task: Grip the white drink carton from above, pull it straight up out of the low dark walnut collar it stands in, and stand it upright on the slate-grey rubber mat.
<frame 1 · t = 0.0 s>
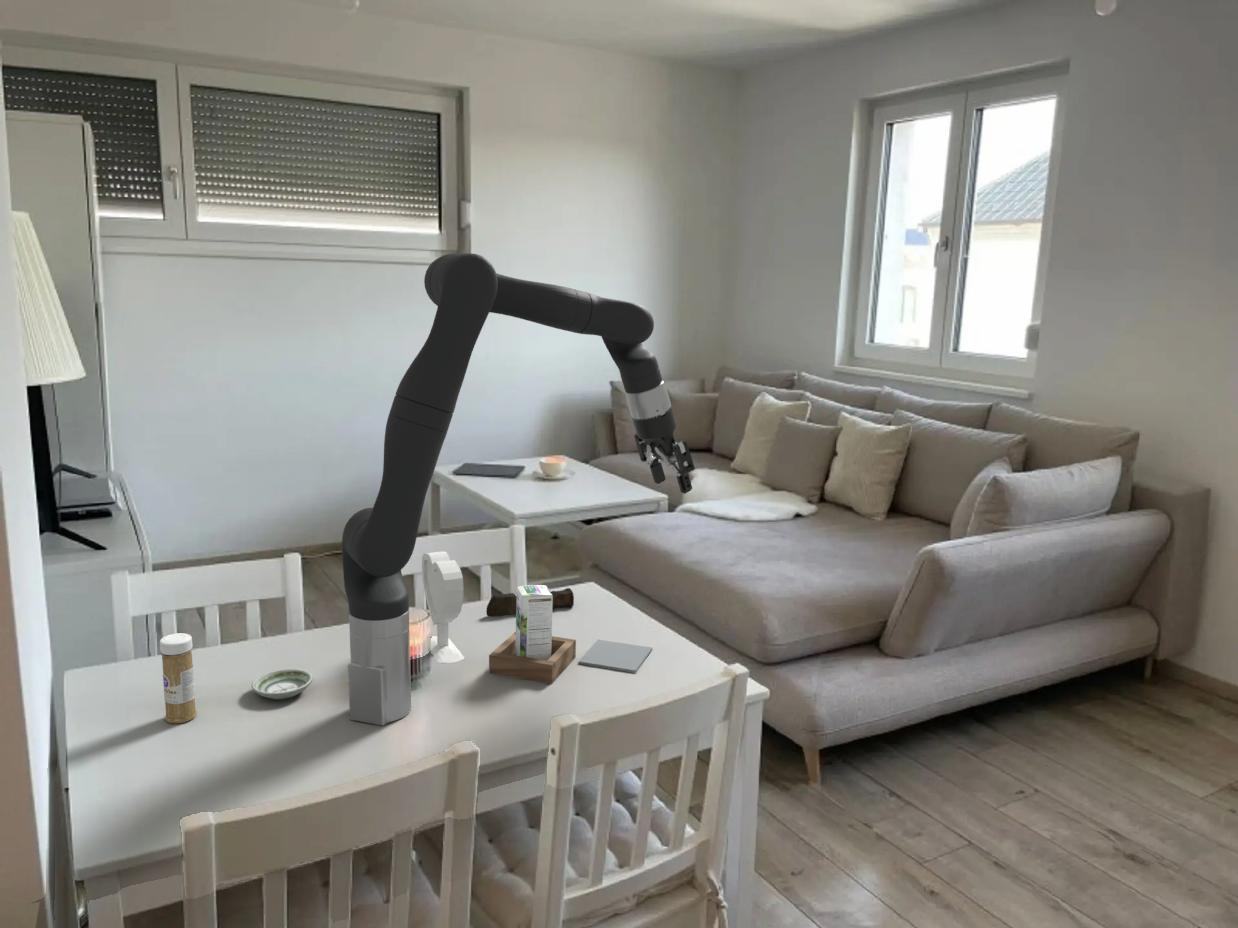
hand: (673, 486, 173), 31 cm above the table, tool tilted 20°, fingers open, 8 cm apart
white drink carton: (533, 666, 168), resting in collar
hand tool: (531, 613, 195), on the table
saucer: (283, 694, 155), on the table
sprinkles bottle: (181, 718, 145), on the table
mat: (616, 656, 173), on the table
heart sculpture: (442, 649, 174), on the table
collar: (533, 665, 168), on the table
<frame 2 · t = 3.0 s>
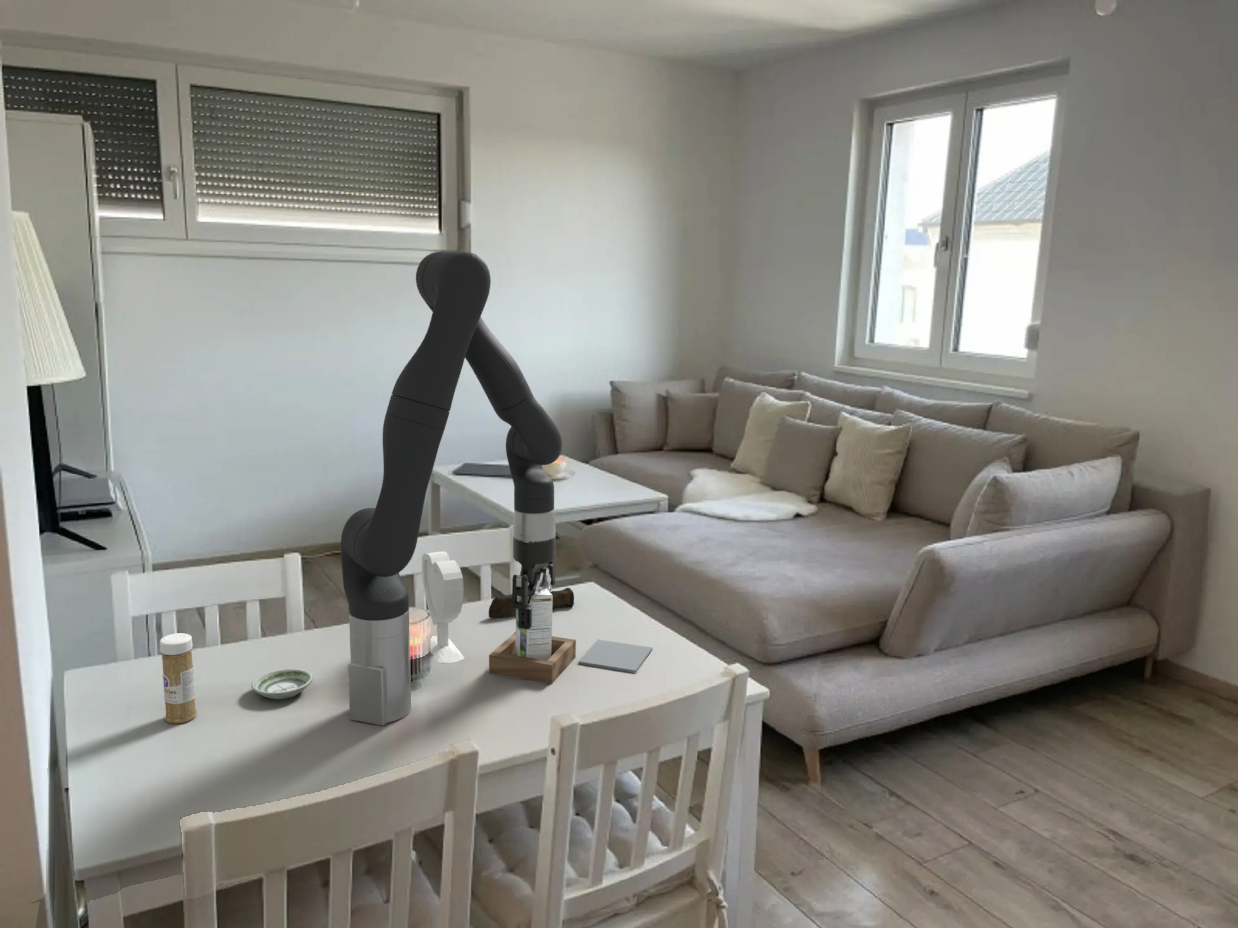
hand: (534, 619, 166), 9 cm above the table, tool pointing down, fingers open, 8 cm apart
white drink carton: (533, 666, 168), resting in collar, touching gripper
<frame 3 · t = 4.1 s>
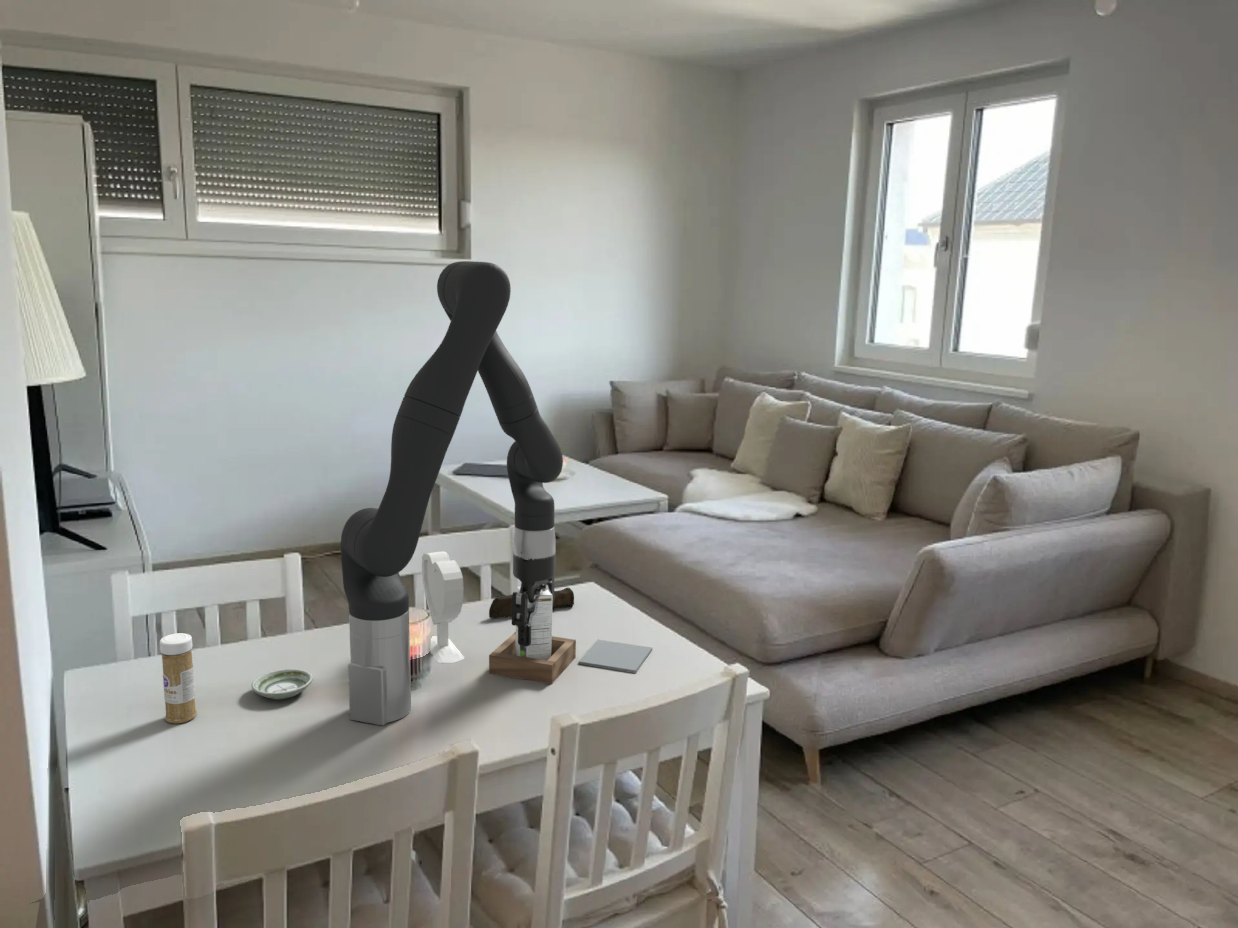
hand: (533, 636, 167), 6 cm above the table, tool pointing down, fingers closed on white drink carton, 8 cm apart
white drink carton: (533, 666, 168), resting in collar, touching gripper
everything else where it was.
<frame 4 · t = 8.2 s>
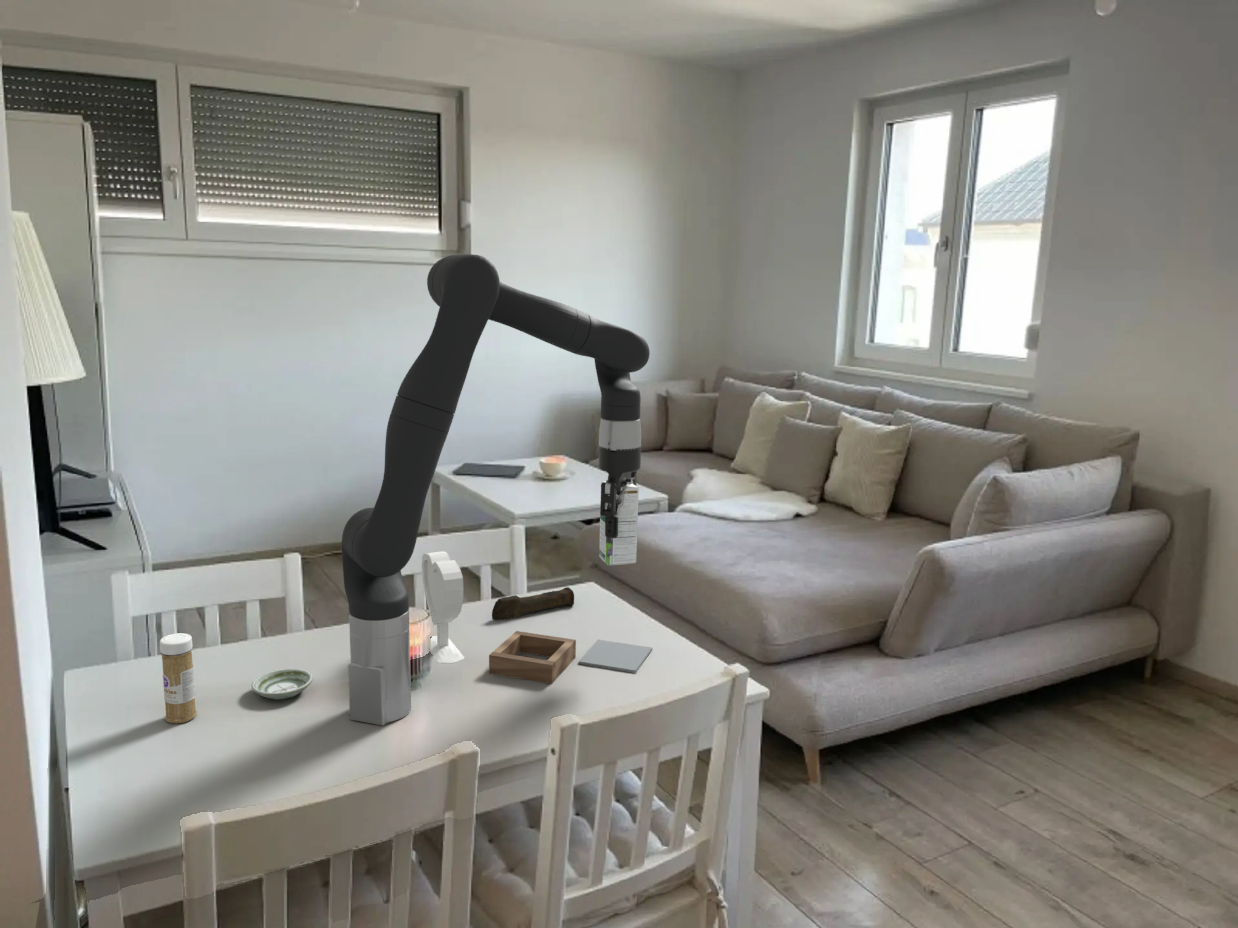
hand: (618, 530, 168), 24 cm above the table, tool pointing down, fingers closed on white drink carton, 8 cm apart
white drink carton: (617, 561, 169), point 19 cm above the table, touching gripper
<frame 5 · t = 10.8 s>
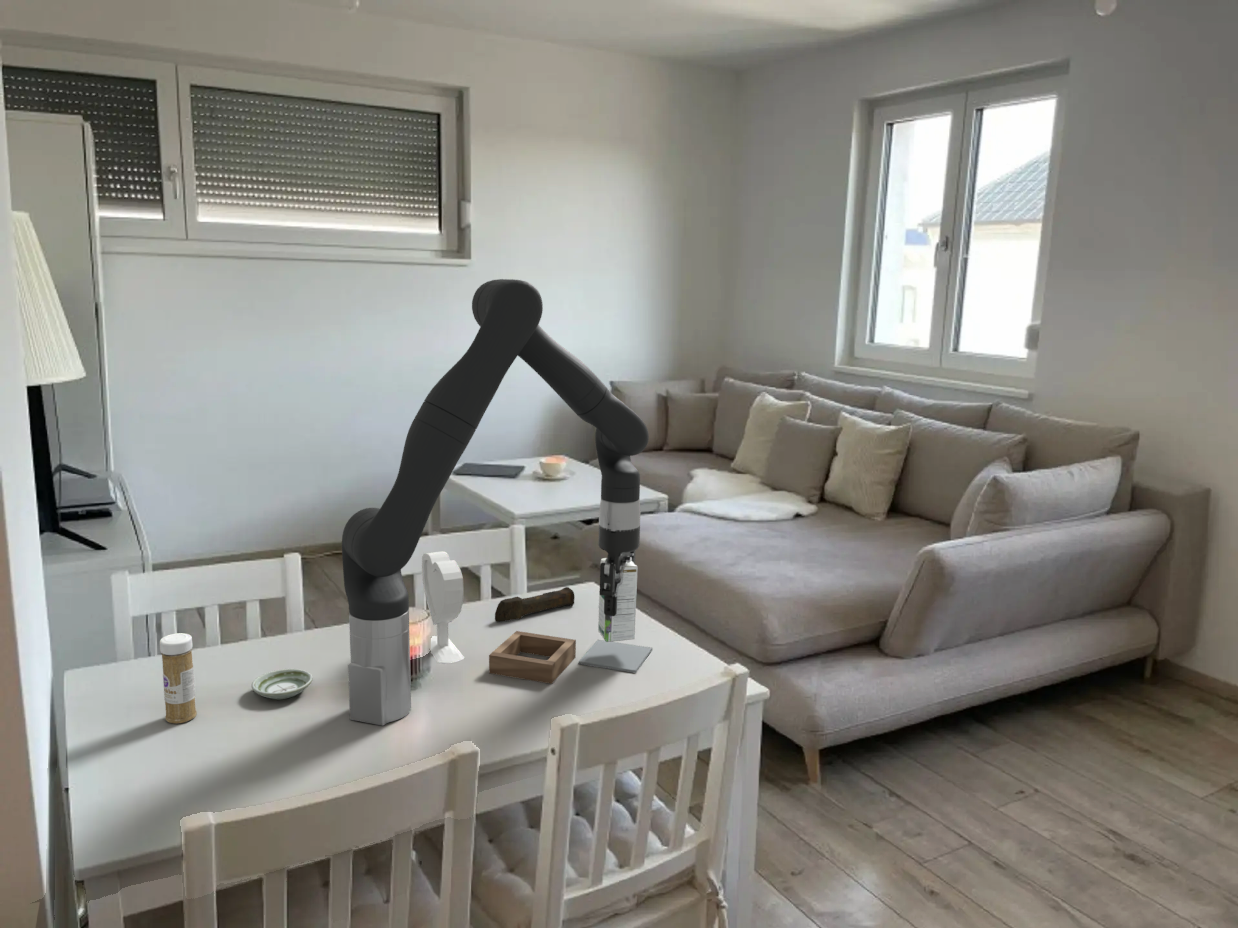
hand: (617, 607, 171), 10 cm above the table, tool pointing down, fingers closed on white drink carton, 8 cm apart
white drink carton: (616, 636, 172), point 4 cm above the table, touching gripper
when the fingers open (7 cm above the table, at t = 12.6 s): white drink carton drops 1 cm, resting on mat.
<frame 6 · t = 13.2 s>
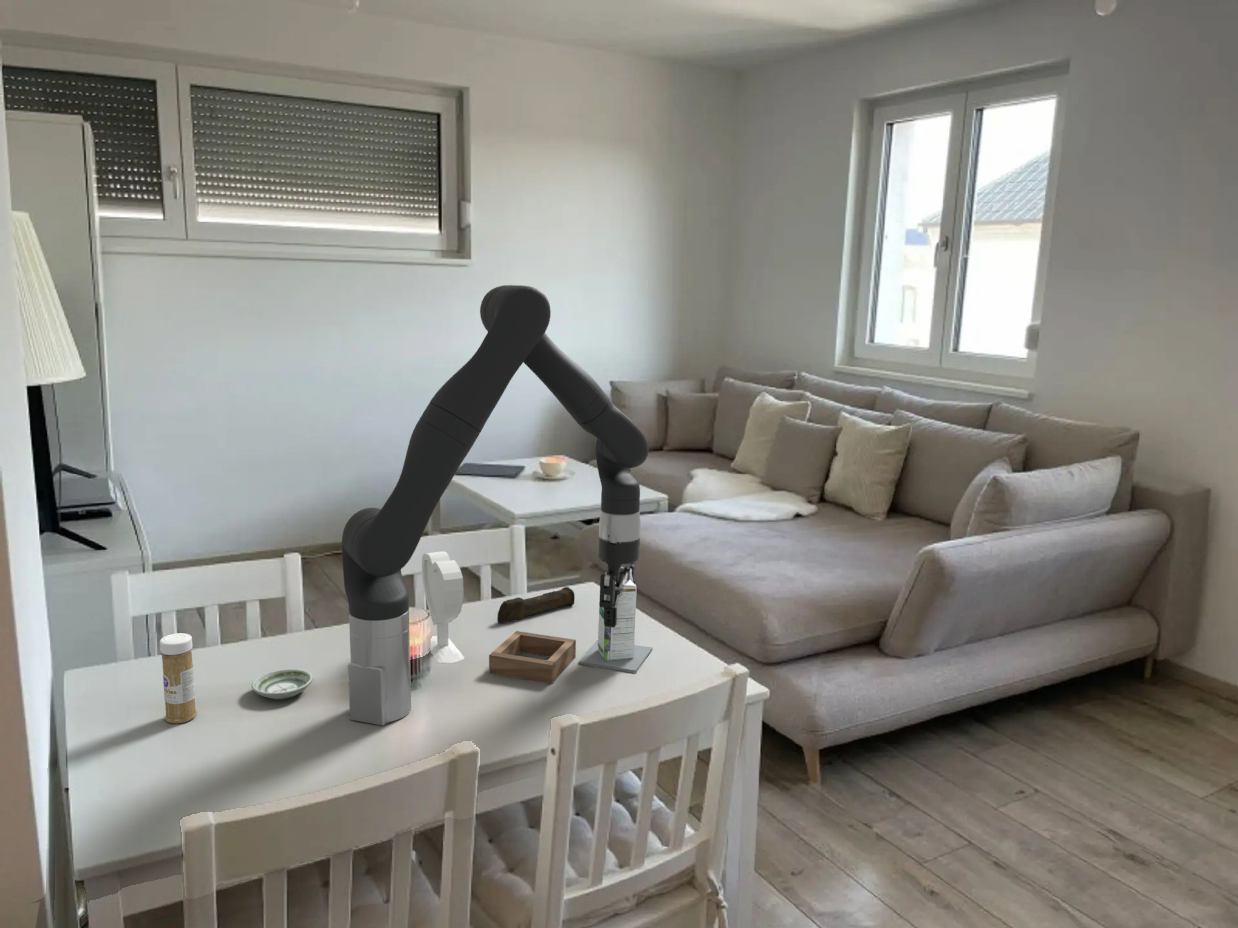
hand: (617, 618, 171), 8 cm above the table, tool pointing down, fingers open, 8 cm apart
white drink carton: (615, 655, 173), resting on mat, touching gripper
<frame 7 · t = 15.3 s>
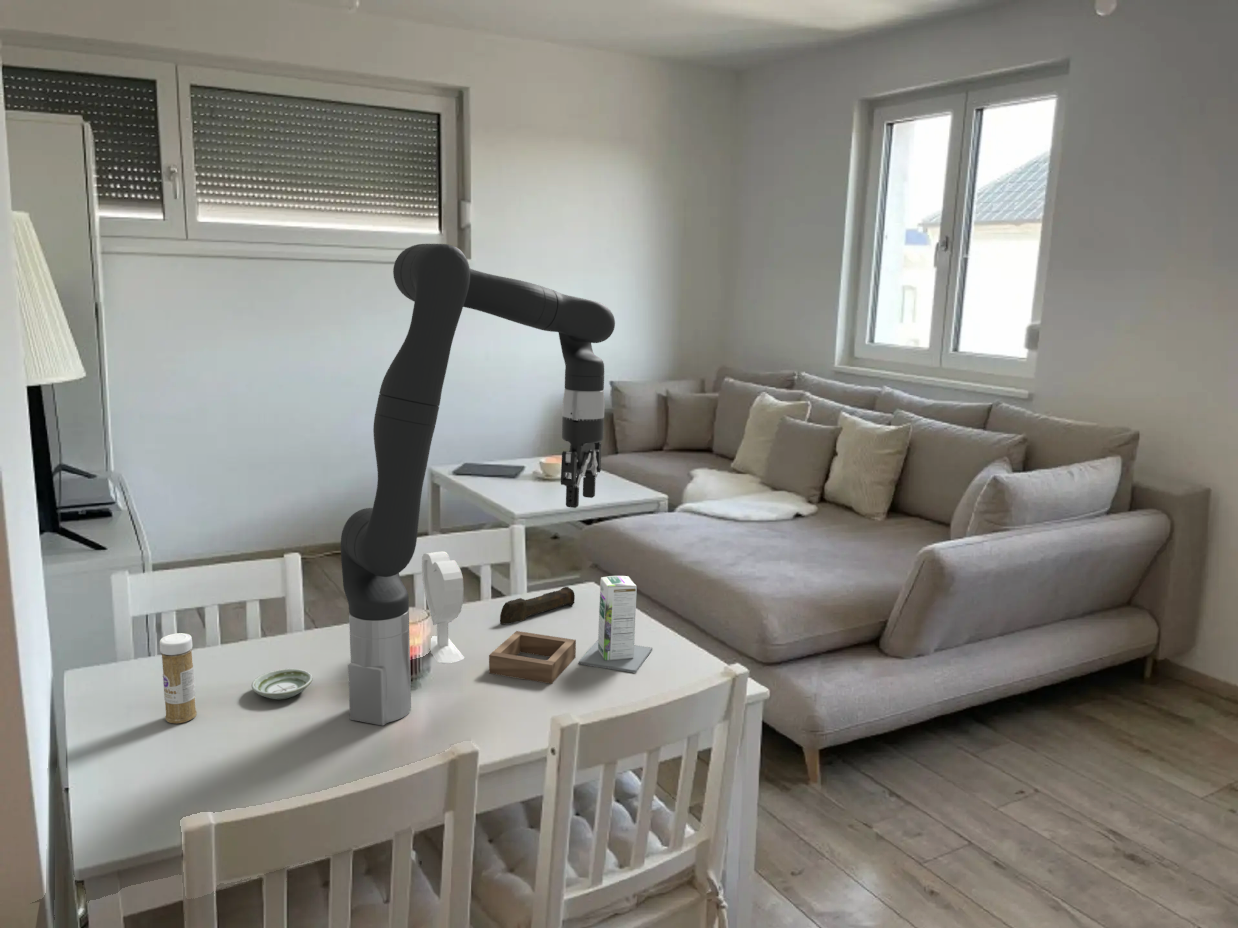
hand: (580, 502, 169), 29 cm above the table, tool pointing down, fingers open, 8 cm apart
white drink carton: (615, 654, 173), resting on mat
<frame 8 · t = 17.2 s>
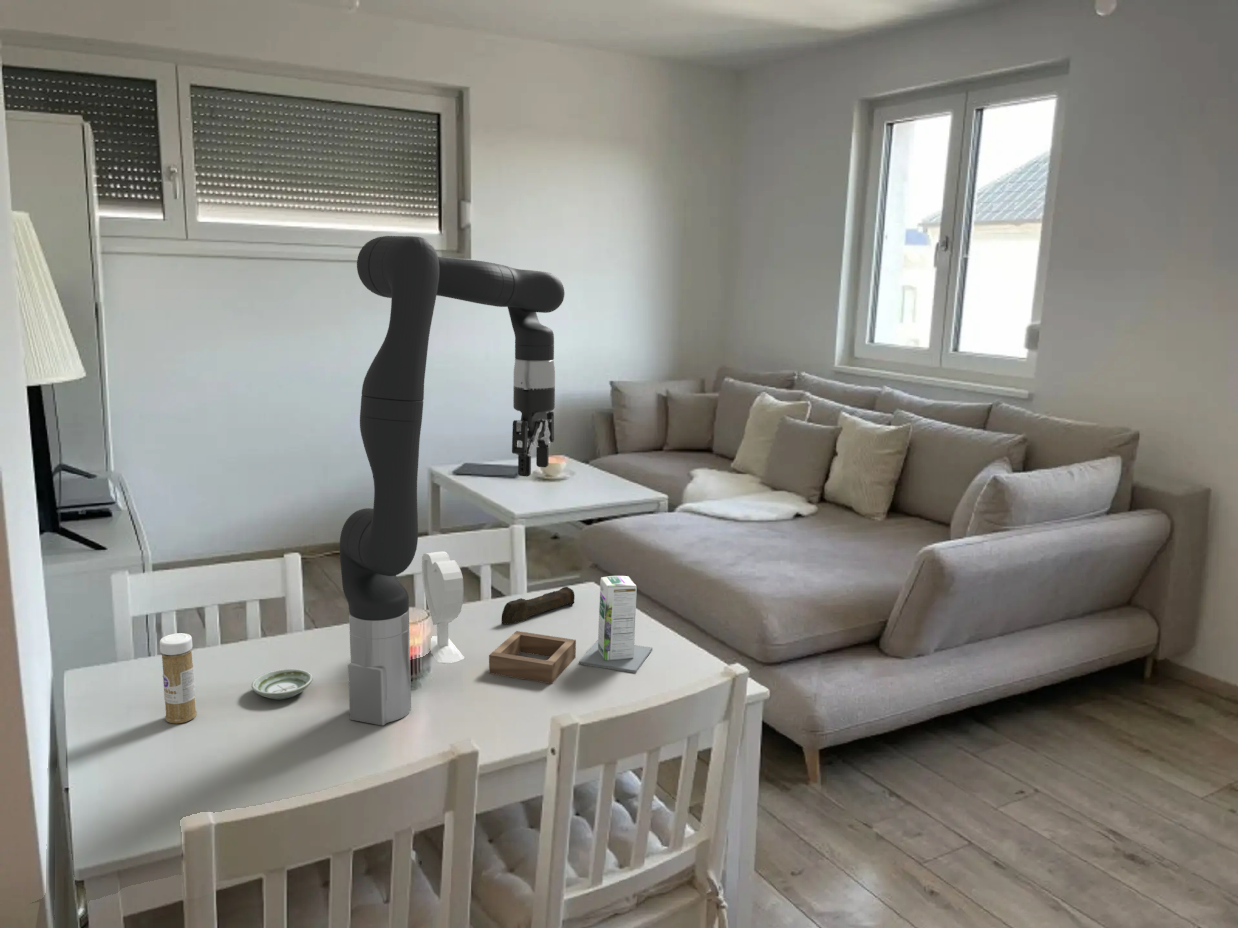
hand: (533, 471, 171), 34 cm above the table, tool pointing down, fingers open, 8 cm apart
at the end: white drink carton inside the target area on the mat (0.1 cm from its centre), point 0.3 cm above the mat's base; white drink carton tilted 0°; the gripper is holding nothing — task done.
